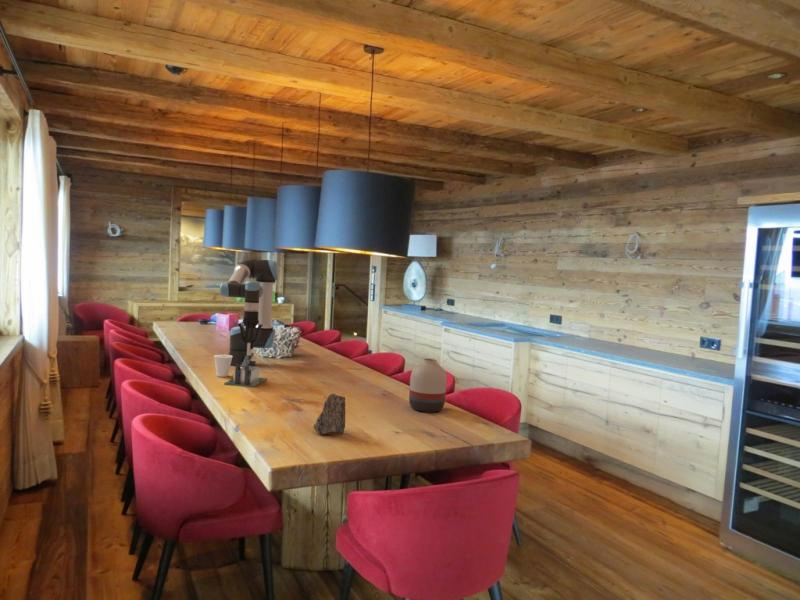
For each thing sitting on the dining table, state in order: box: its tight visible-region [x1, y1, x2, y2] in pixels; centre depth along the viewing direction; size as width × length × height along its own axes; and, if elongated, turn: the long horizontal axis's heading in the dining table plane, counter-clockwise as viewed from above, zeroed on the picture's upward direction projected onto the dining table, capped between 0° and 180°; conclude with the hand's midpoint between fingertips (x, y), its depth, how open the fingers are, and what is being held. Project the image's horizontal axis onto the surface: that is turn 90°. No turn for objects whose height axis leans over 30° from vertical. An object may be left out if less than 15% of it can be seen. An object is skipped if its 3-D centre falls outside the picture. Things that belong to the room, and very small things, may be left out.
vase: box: [408, 358, 448, 413], centre depth 268 cm, size 17×17×24 cm
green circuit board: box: [223, 360, 268, 388], centre depth 301 cm, size 20×16×10 cm
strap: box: [239, 352, 255, 370], centre depth 299 cm, size 15×3×1 cm, turn 175°
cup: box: [213, 354, 233, 378], centre depth 312 cm, size 10×10×11 cm
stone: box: [313, 393, 346, 436], centre depth 221 cm, size 13×13×15 cm
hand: (248, 355), depth 302 cm, fingers closed
